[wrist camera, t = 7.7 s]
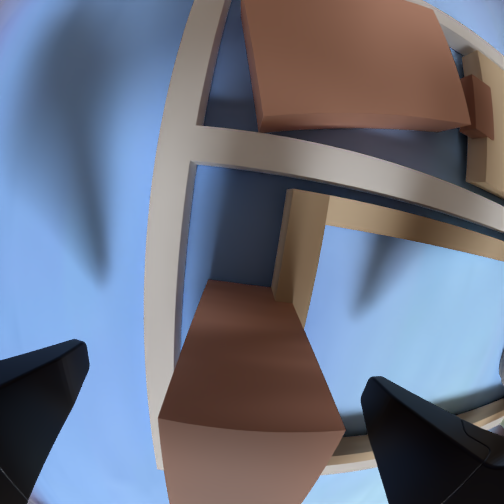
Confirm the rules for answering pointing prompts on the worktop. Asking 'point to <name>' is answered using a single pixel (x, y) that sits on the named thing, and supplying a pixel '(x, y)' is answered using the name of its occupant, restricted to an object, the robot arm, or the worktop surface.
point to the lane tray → (264, 161)
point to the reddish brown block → (350, 66)
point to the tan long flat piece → (484, 122)
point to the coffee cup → (502, 369)
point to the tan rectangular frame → (276, 368)
